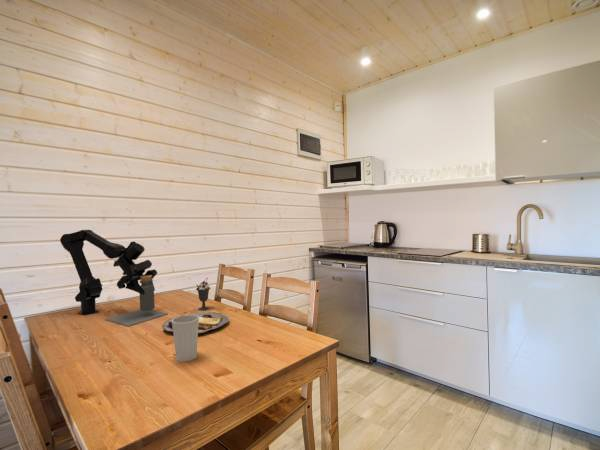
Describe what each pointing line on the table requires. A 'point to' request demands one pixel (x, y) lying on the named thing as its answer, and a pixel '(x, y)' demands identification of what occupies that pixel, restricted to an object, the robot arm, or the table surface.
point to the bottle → (147, 293)
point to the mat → (135, 317)
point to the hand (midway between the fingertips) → (149, 292)
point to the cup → (185, 337)
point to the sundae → (203, 293)
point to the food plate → (203, 321)
